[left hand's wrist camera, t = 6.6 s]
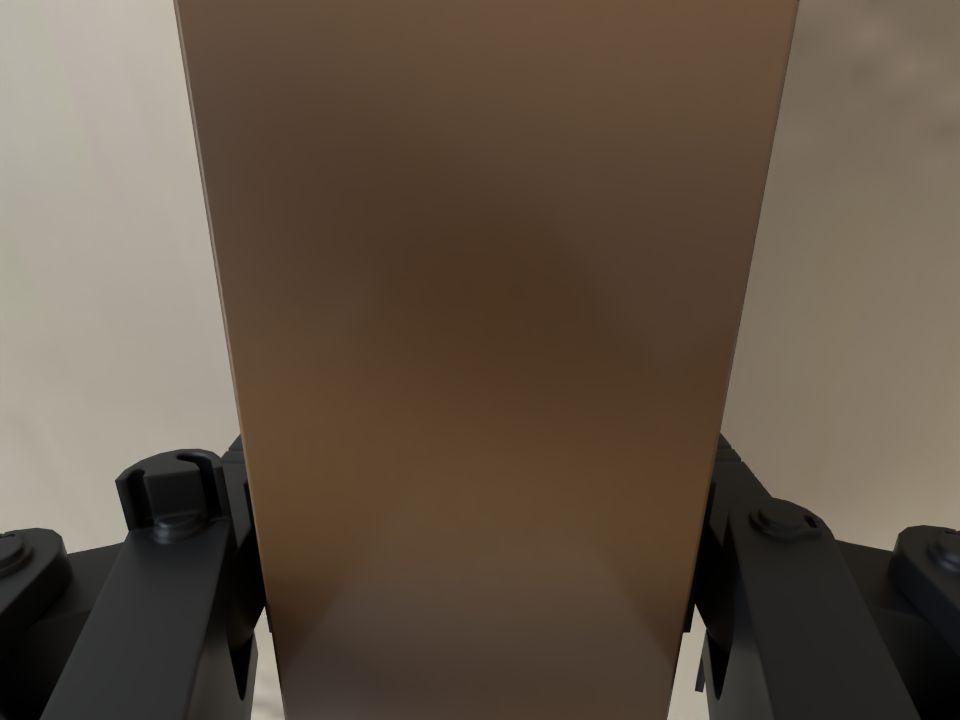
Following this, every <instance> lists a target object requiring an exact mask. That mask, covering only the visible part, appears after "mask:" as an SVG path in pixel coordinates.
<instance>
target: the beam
mask: <svg viewBox="0 0 960 720" xmlns="http://www.w3.org/2000/svg"><path fill="white" fill-rule="evenodd" d="M173 2H174V8H175V15H176V21H177V27H178V34H179V40H180V47H181V53H182V60H183V66H184V72H185V79H186V85H187V92H188V98H189V105H190V111H191V117H192V124H193V130H194V137H195V143H196V149H197V156H198V162H199V169H200V175H201V182H202V188H203V194H204V201H205V207H206V214H207V220H208V227H209V233H210V239H211V246H212V252H213V259H214V265H215V272H216V278H217V284H218V291H219V297H220V304H221V310H222V316H223V323H224V329H225V336H226V342H227V349H228V355H229V361H230V368H231V374H232V381H233V387H234V394H235V400H236V406H237V413H238V419H239V426H240V432H241V438H242V445H243V451H244V458H245V464H246V471H247V477H248V483H249V490H250V496H251V503H252V509H253V516H254V522H255V528H256V535H257V541H258V548H259V554H260V560H261V567H262V573H263V580H264V586H265V593H266V599H267V605H268V612H269V618H270V625H271V631H272V638H273V644H274V650H275V657H276V663H277V670H278V676H279V682H280V689H281V695H282V702H283V708H284V715H285V720H667V717H668V711H669V706H670V701H671V695H672V690H673V684H674V679H675V673H676V668H677V663H678V657H679V652H680V646H681V641H682V635H683V630H684V624H685V619H686V614H687V608H688V603H689V597H690V592H691V586H692V581H693V576H694V570H695V565H696V559H697V554H698V548H699V543H700V537H701V532H702V527H703V521H704V516H705V510H706V505H707V499H708V494H709V489H710V483H711V478H712V472H713V467H714V461H715V456H716V450H717V445H718V440H719V434H720V429H721V423H722V418H723V412H724V407H725V402H726V396H727V391H728V385H729V380H730V374H731V369H732V363H733V358H734V353H735V347H736V342H737V336H738V331H739V325H740V320H741V315H742V309H743V304H744V298H745V293H746V287H747V282H748V276H749V271H750V266H751V260H752V255H753V249H754V244H755V238H756V233H757V228H758V222H759V217H760V211H761V206H762V200H763V195H764V189H765V184H766V179H767V173H768V168H769V162H770V157H771V151H772V146H773V141H774V135H775V130H776V124H777V119H778V113H779V108H780V102H781V97H782V92H783V86H784V81H785V75H786V70H787V64H788V59H789V54H790V48H791V43H792V37H793V32H794V26H795V21H796V15H797V10H798V5H799V0H173Z"/></svg>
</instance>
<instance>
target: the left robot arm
mask: <svg viewBox="0 0 960 720" xmlns="http://www.w3.org/2000/svg"><path fill="white" fill-rule="evenodd" d="M115 483H116V486H117V490H118V494H119V497H120V501H121V505H122V508H123V512H124V516H125V519H126V523H127V527H128V530H129V533H128V535H127V537H126V539H125V541H124V542H123V543H119V544H115V545H111V546H106V547H101V548H96V549H91V550H86V551H81V552H76V553H71V554H67V552H66V549H65V546H64V542H63V539H62V536H60V535H59V534H57V533H56V532H55V531H53V530H49V529H42V528H31V529H23V530H14V531H9V532H5V534H2V533H1V534H0V720H250V719H251V711H252V702H253V694H254V685H255V676H256V668H257V659H258V650H257V644H256V638H255V633H254V628H255V626H256V624H257V622H258V619H259V617H260V615H261V613H262V611H263V608H264V606H265V609H266V615H267V620H268V626H269V632H270V633H272V631H271V625H270V618H269V612H268V605H267V599H266V593H265V586H264V580H263V573H262V567H261V560H260V554H259V548H258V541H257V535H256V528H255V522H254V516H253V509H252V503H251V496H250V490H249V483H248V477H247V471H246V464H245V458H244V451H243V445H242V438H241V434H240V435H239V436H238V437H237V439H236V440H235V441H234V442H233V444H232V445H231V446H230V447H229V451H226V452H225V454H224V455H223V456H222V458H220V457H219V456H218V455H216V454H215V453H214V452H211V451H207V450H202V449H180V450H175V451H170V452H165V453H160V454H157V455H155V456H152V457H149V458H146V459H144V460H141V461H139V462H138V463H136V464H134V465H133V466H131V467H129V468H127V469H126V470H124V472H123V473H122V474H121V475H120V476H119V477H118V478H117V479H116V480H115ZM695 604H696V606H697V608H698V611H699V613H700V615H701V617H702V619H703V622H704V624H705V626H706V633H705V638H704V643H703V648H702V654H701V659H700V664H699V669H698V675H697V680H696V687H695V691H698V692H703V688H704V683H705V684H706V692H707V701H708V709H709V718H710V720H960V531H956V530H954V529H950V528H945V527H935V526H927V525H921V526H913V527H907V528H906V529H905V530H903V531H902V532H901V533H899V535H898V538H897V541H896V544H895V547H894V550H893V552H892V551H887V550H882V549H877V548H872V547H867V546H862V545H857V544H852V543H847V542H843V541H840V540H836V539H835V538H834V536H833V534H832V532H831V530H830V529H829V528H828V527H827V525H826V524H825V523H824V521H823V520H822V519H821V518H819V517H818V516H816V515H815V514H813V513H812V512H810V511H809V510H808V509H806V508H803V507H801V506H799V505H796V504H794V503H792V502H789V501H786V500H782V499H777V498H773V497H771V495H770V494H769V493H768V492H767V490H766V489H765V488H764V487H763V485H762V484H761V483H760V482H759V480H758V479H757V478H756V477H755V475H754V474H753V473H752V472H751V470H750V469H749V468H748V467H747V465H746V464H745V463H744V462H741V458H740V457H739V455H738V454H737V453H736V452H735V450H734V449H731V445H730V444H729V443H728V442H727V440H726V439H725V438H724V437H723V435H722V434H721V433H720V434H719V440H718V445H717V450H716V456H715V461H714V467H713V472H712V478H711V483H710V489H709V494H708V499H707V505H706V510H705V516H704V521H703V527H702V532H701V537H700V543H699V548H698V554H697V559H696V565H695V570H694V576H693V581H692V586H691V592H690V597H689V603H688V608H687V614H686V619H685V624H684V630H683V632H690V630H691V624H692V618H693V613H694V607H695Z"/></svg>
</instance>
